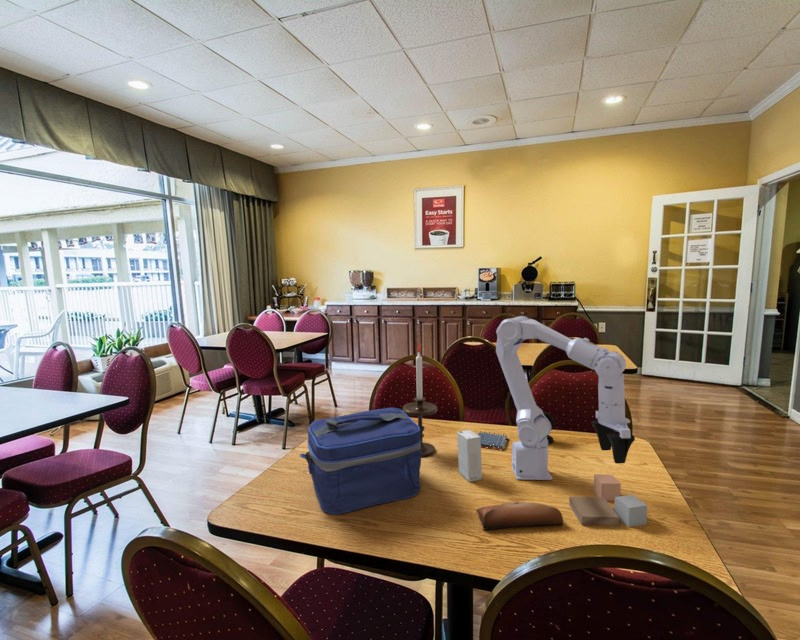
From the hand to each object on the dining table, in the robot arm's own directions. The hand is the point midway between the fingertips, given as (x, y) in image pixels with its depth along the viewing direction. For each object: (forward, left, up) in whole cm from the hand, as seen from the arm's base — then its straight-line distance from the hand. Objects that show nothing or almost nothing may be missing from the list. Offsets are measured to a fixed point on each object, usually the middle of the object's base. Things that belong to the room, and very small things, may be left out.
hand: (612, 456), depth 100 cm
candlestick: (-48, +25, -11) cm, 55 cm away
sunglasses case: (-25, -10, -11) cm, 29 cm away
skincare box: (-34, +9, -11) cm, 37 cm away
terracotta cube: (-1, 0, -10) cm, 11 cm away
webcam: (-8, +34, -11) cm, 36 cm away
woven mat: (-25, +32, -11) cm, 42 cm away
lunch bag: (-62, +2, -11) cm, 63 cm away
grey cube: (0, -10, -10) cm, 15 cm away
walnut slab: (-8, -9, -11) cm, 16 cm away
